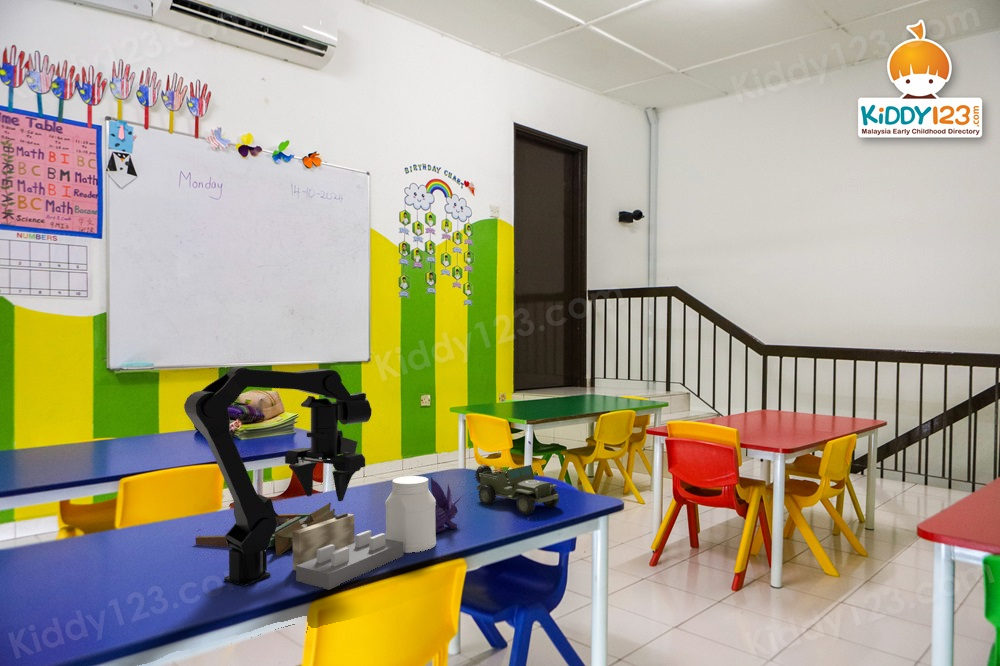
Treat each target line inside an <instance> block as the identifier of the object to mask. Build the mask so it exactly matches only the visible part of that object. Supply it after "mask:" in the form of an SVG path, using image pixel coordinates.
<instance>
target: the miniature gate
mask: <svg viewBox="0 0 1000 666" xmlns="http://www.w3.org/2000/svg"><path fill="white" fill-rule="evenodd" d="M331 505H332V502H328V503H327V504H325V505H324V506H321V507H320V508H318V509H316V510H315V511H313V512H311V513H309V512H308V513H307V512H305V513H303V512H302V513H281V514H280V513H277V514H278V515H279V516H278V517H276V519H277V525H279V526H277V528H276V530H275V532H274V534H273V535H272V536H271V539H270V542H269V546H268V548H269V547H275V548H274V549H275V556H276V557H277V556H282V554H283V553H285V552H287V551H288V550H289V549H291V548H293V532H294V531H297V530H300V529H303V528H306V527H309V526H312V525H315V524H318V523H321V522H324V521H327V520H330V519H333V518H335V516H337V515H336V514H335V511H336V508H333V509H332V510H331ZM225 535H226V534H225ZM225 535H222V534H220V535H218V534H217V535H216V534H215V535H197V536H196V537H195V545H196V546H198V545H199V546H208V545H209V546H212V547H225V548H226V547H230V546H229V545H228V544H227V542H226V539H225Z"/></svg>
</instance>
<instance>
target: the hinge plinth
mask: <svg viewBox="0 0 1000 666" xmlns="http://www.w3.org/2000/svg"><path fill="white" fill-rule="evenodd" d="M372 532H373V531H372V530H370V529H369V530H366V531H362V532H360V533H358V534H355V543H353V544H351V545H348V546H346V547H343V548H340V549H338V550H335V545H333V544H331V545H328V546H325V547H323V548H320V549H317V558H315V559H312V560H310V561H307V562H304V563H302V564H299V565H297V566H296V571H295V573H296V574H295V578H296V579H295V581H296V582H299V583H303V584H306V585H310V586H313V587H317V586H318V588H321V587H323V588H322V589H325V590H328V591H329V590H332V589H334V588H336V587H338V586H341V585H342V584H341V583H343V582H345V581H347V580H349V581H351V580H350V579H352V578H354V577H356V578H358V577H360V576H362V575H361V574H363V575H365V574H367V573H369V572H371V570H372V571H373V569H374V570H376V569H378V568H380V567H382V565H383V566H384V564H385V565H387V564H389V563H391V562H393V560H394V561H395V559H396V560H399V559H401V558H403V557H404V552H403V542H399V541H394V540H389V539H386V533H383V532H381V533H378V534H375V535H372V534H373V533H372ZM390 561H391V562H390ZM388 562H389V563H388ZM386 563H387V564H386ZM377 567H378V568H377ZM375 568H376V569H375ZM368 571H369V572H368ZM366 572H367V573H366ZM364 573H365V574H364ZM359 575H360V576H359ZM357 576H358V577H357ZM354 579H355V578H354ZM352 580H353V579H352ZM347 582H348V581H347ZM345 583H346V582H345ZM340 584H341V585H340ZM343 584H344V583H343Z"/></svg>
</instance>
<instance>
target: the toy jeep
mask: <svg viewBox="0 0 1000 666" xmlns="http://www.w3.org/2000/svg"><path fill="white" fill-rule="evenodd" d="M534 474H535V473H534V471H533V467H532V464H528V465H524V466H520V467H514V468H511V469H507V470H505V469H500V468H498V469H494V470H492V468H491V466H489V465H486V464H482V465H479V466H478V467H477V468H476V471H475V474H474V476H475V477H474V478H475V479H476V480H475V481H476V482H477V483H478V484H477V485H476V486H475V487H476V488H475V489H476V490H477V491H478V493H477V494H478V495H477V496H478V499H479V501H480V502H481V504H482V505H485V504H487V506H491V505H492V504H494V502H495V500H496V498H497V497H502V498H505V499H511V500H516V501H515V502H516V503H515V504H516V508H517V511H518V512H519V513H520V514H521V515H524V514H525V516H527V515H528V516H529V515H531V514H533V513H534V511H535V508H536V505H535V504H537V505H539V504H543V506H545V507H546V508H547V507H548V508H552V509H553V508H554V507H557V506H558V505H559V504H558V503H559V502H560V501H559V500H560V498H559V497H560V495H559V492H558V490H556V488H557V487H558V484H553V483H552V482H548V481H544V480H537V479H535V475H534Z"/></svg>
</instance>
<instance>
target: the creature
mask: <svg viewBox="0 0 1000 666" xmlns="http://www.w3.org/2000/svg"><path fill="white" fill-rule="evenodd" d="M430 489H431V491H430V492H431V494H432V495H433V496H434V498H435V500H436V505H435V529H436V533H437V534H438V533H440V532H443V531H445V530H446V529H447V528H449V529H451V530H454V529H457V528H458V523H454V522H453V521H452V520H453V519H455V517H456V515H457V514H458V508H457V506H456V505H457V503H458V501H460V500H461V498H463V496H464V494H463V495H461V496H460V497H458V498H457V499H456V500H455V501H454V502H452V500H453V499H452V495H453V494H452V491H451V488H450V485H449V483H447V490H446V491H447V492H446V493H445V492H444V490H443V489H442V487H441V485H440V484H439V483H438V482H437V481H436V480H435V479H434V478H433V477H432V476H430Z"/></svg>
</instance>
